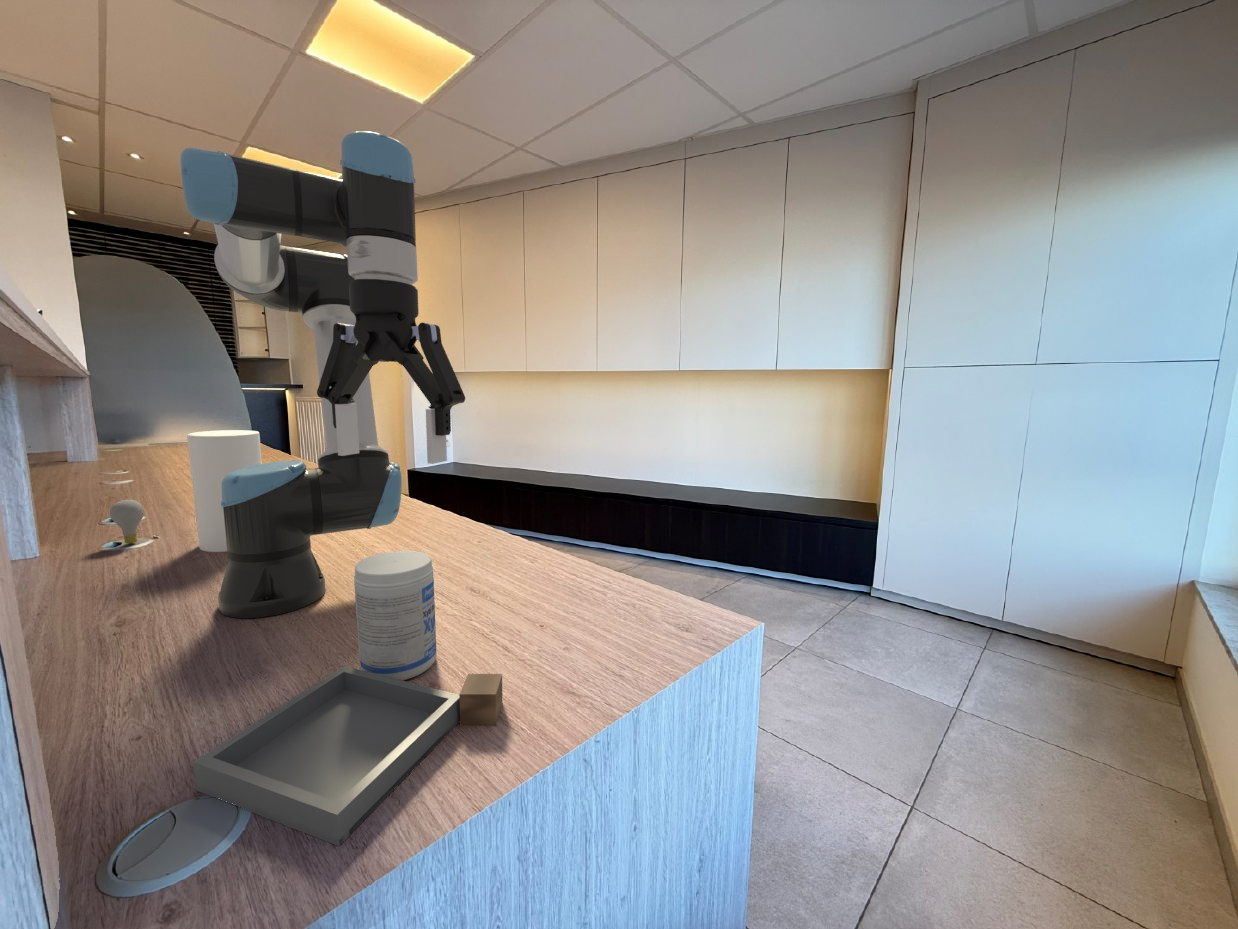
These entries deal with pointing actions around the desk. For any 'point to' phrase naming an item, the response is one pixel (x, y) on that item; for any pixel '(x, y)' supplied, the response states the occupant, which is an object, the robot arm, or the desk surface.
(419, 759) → the tray
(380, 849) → the desk surface
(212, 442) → the cylinder
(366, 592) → the supplement tub
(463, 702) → the walnut block
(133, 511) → the light bulb
